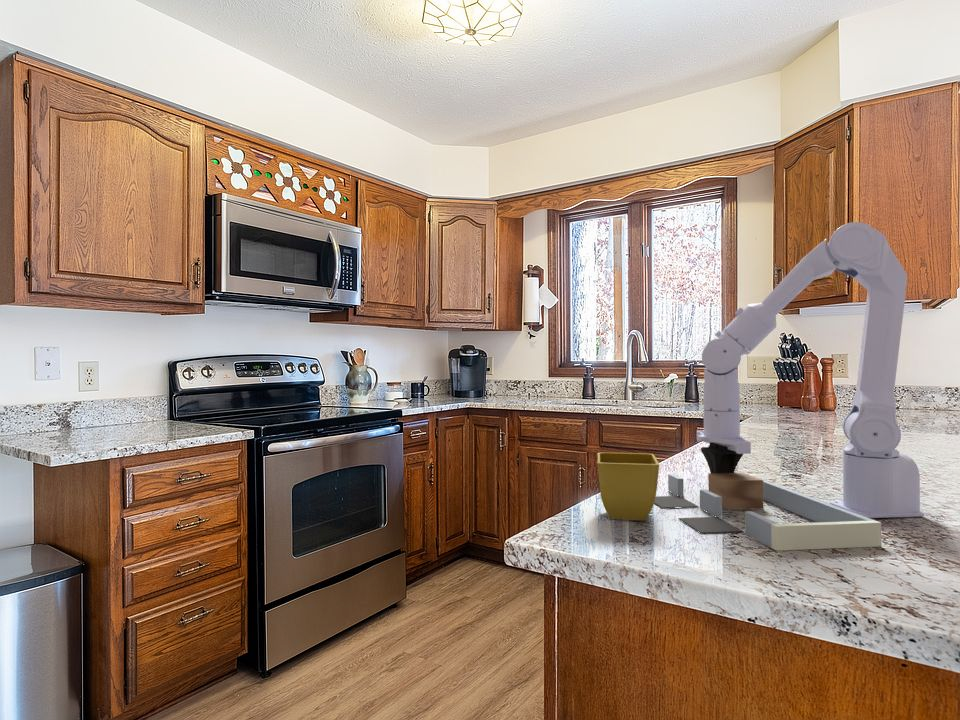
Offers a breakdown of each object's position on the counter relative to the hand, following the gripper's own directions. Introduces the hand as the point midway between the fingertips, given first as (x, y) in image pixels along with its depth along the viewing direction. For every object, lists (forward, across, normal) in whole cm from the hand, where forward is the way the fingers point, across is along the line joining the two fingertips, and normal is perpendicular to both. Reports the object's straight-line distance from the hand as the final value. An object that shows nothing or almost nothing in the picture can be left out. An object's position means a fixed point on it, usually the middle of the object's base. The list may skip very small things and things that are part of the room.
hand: (722, 489), depth 97 cm
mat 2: (+1, +15, -10) cm, 18 cm away
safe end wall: (+1, +26, 0) cm, 26 cm away
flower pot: (+2, +9, -20) cm, 22 cm away
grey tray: (+1, +10, 0) cm, 10 cm away
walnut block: (+1, +4, 0) cm, 5 cm away
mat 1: (+1, +2, -10) cm, 10 cm away
